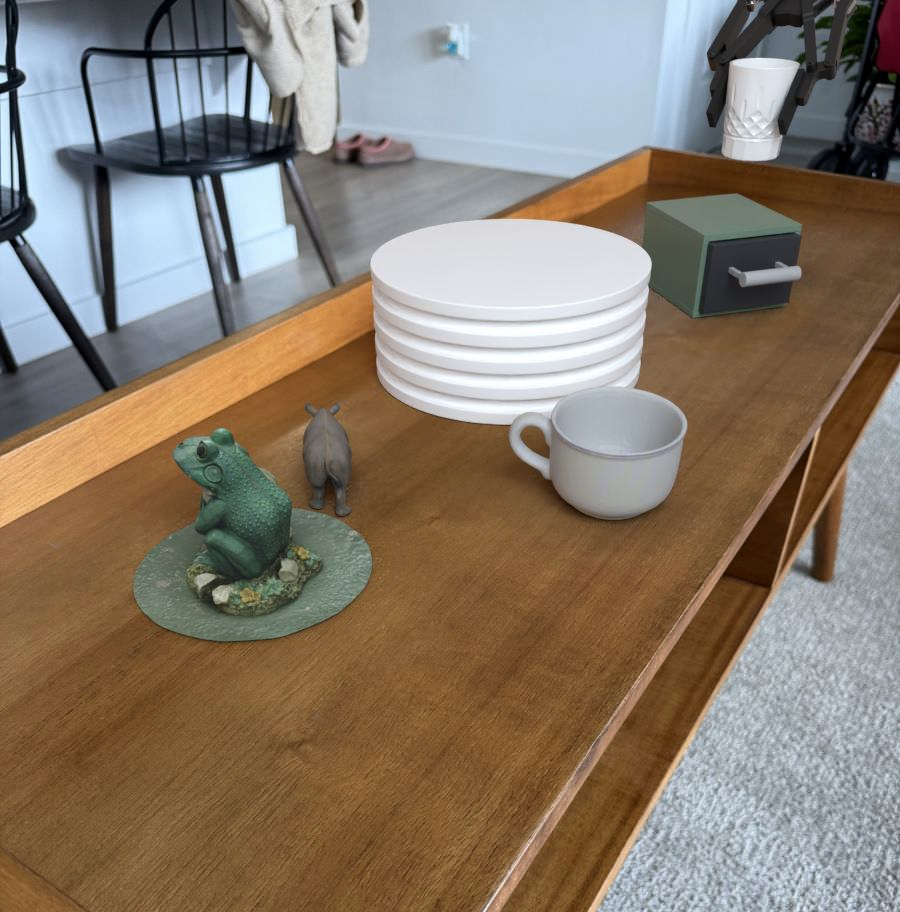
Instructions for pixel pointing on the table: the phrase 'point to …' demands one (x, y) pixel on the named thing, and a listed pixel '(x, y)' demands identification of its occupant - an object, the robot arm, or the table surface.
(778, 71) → the white cup
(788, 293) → the drawer
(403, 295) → the plate stack
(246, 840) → the table surface
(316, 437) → the rhino figurine
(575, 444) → the teacup
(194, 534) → the frog figurine
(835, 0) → the robot arm
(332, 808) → the table surface
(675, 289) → the cabinet
